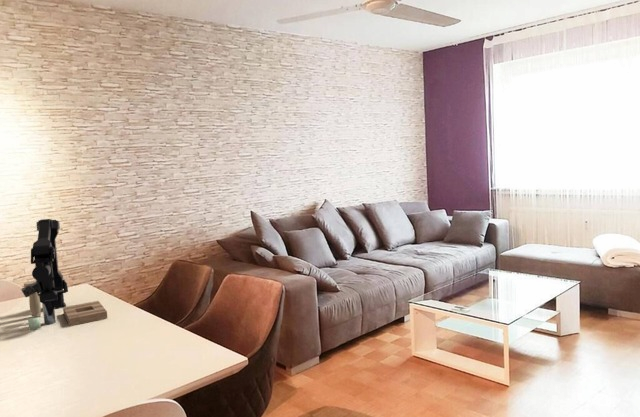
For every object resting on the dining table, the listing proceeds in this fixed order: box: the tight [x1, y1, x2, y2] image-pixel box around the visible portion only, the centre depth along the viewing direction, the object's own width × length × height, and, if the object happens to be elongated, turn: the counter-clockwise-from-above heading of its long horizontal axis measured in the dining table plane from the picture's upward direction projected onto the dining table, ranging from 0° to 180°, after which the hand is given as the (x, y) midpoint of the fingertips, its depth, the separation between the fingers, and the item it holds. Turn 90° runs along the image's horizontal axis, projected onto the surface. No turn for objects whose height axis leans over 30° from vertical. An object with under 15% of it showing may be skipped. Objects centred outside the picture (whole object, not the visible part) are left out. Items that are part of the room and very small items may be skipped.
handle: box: [23, 280, 42, 318], centre depth 205 cm, size 5×6×15 cm
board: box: [62, 300, 108, 327], centre depth 203 cm, size 20×14×3 cm
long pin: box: [41, 303, 57, 326], centre depth 196 cm, size 4×4×10 cm
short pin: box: [27, 316, 42, 331], centre depth 191 cm, size 4×4×4 cm
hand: (49, 312), depth 196 cm, fingers open, 9 cm apart
